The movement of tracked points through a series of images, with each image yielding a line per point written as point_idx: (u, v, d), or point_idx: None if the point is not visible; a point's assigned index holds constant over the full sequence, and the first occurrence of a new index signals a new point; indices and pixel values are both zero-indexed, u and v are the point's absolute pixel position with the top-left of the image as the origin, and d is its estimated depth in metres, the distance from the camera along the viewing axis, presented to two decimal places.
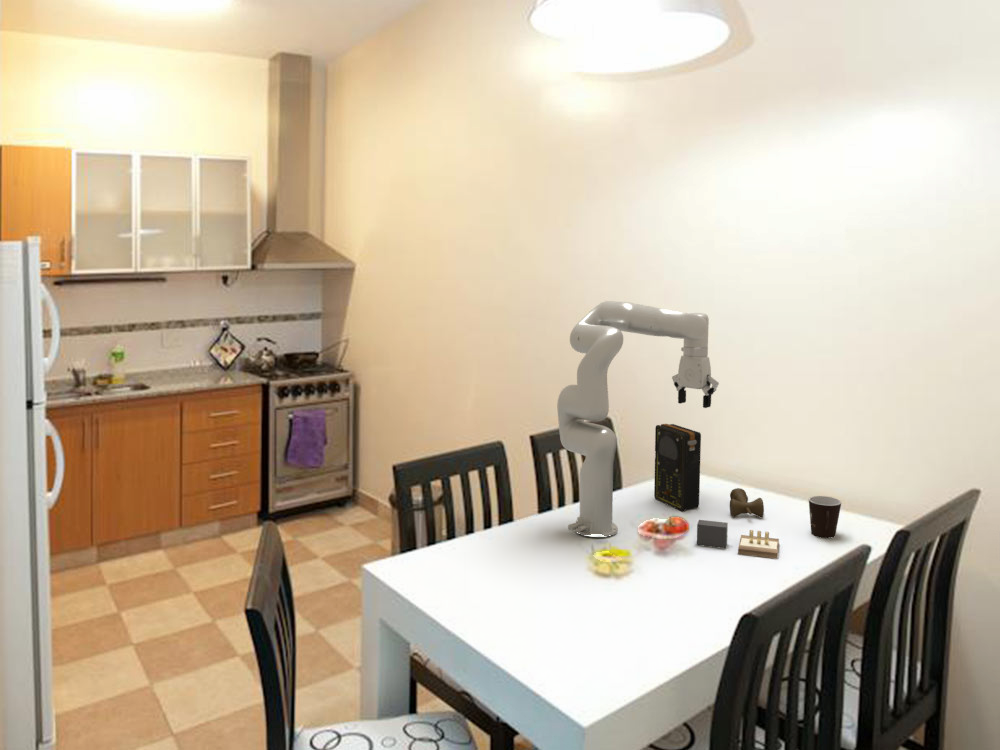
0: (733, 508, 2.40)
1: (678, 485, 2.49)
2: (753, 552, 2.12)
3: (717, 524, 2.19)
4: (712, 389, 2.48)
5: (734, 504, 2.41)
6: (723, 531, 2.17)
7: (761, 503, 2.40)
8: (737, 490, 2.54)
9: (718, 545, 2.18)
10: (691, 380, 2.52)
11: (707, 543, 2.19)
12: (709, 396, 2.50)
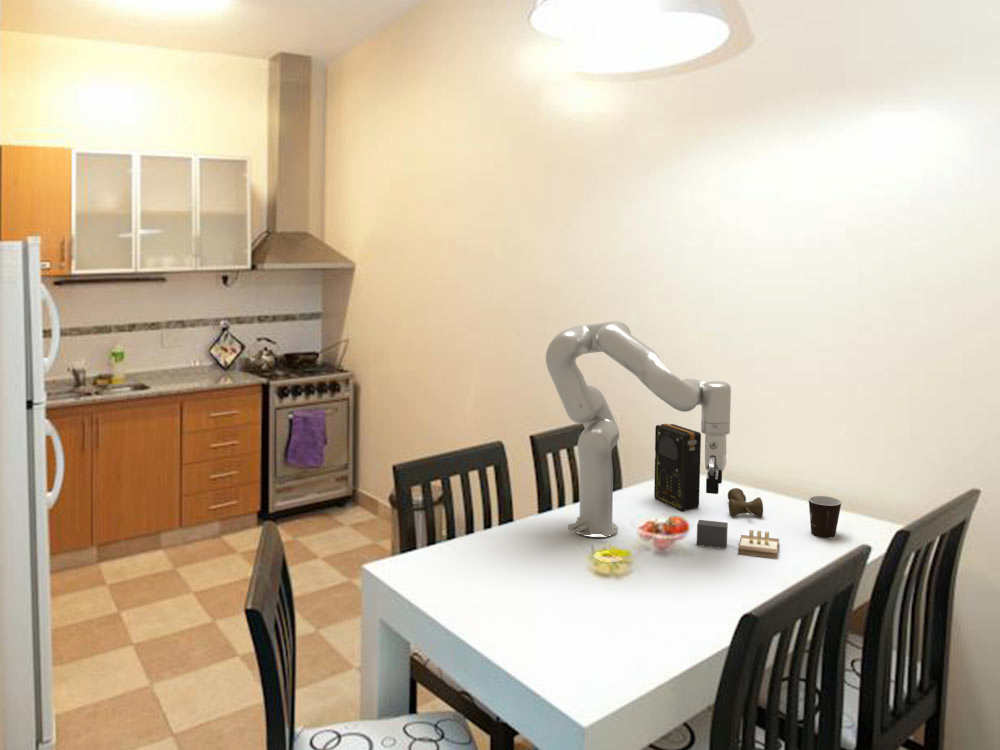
0: (733, 508, 2.40)
1: (678, 485, 2.49)
2: (753, 552, 2.12)
3: (717, 524, 2.19)
4: None
5: (733, 504, 2.41)
6: (723, 531, 2.17)
7: (760, 503, 2.40)
8: (735, 490, 2.54)
9: (718, 545, 2.18)
10: (725, 458, 2.17)
11: (707, 543, 2.19)
12: None
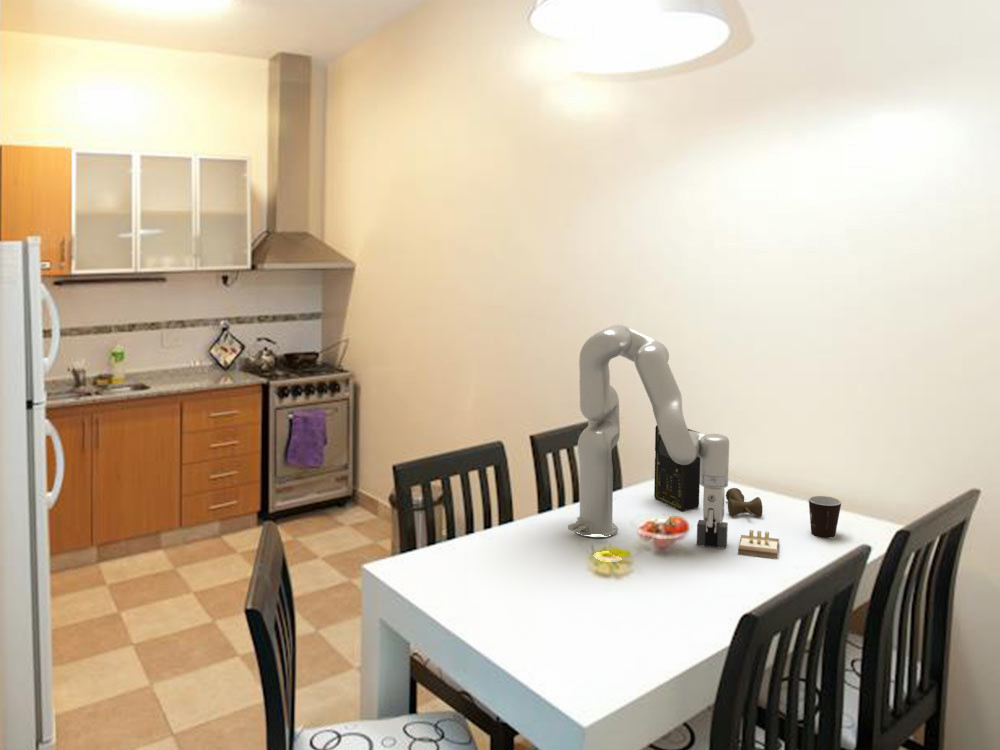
0: (732, 508, 2.41)
1: (678, 485, 2.49)
2: (753, 552, 2.12)
3: (717, 524, 2.19)
4: None
5: (733, 504, 2.41)
6: (723, 531, 2.17)
7: (760, 502, 2.40)
8: (733, 490, 2.55)
9: (718, 545, 2.18)
10: (723, 509, 2.19)
11: None
12: None
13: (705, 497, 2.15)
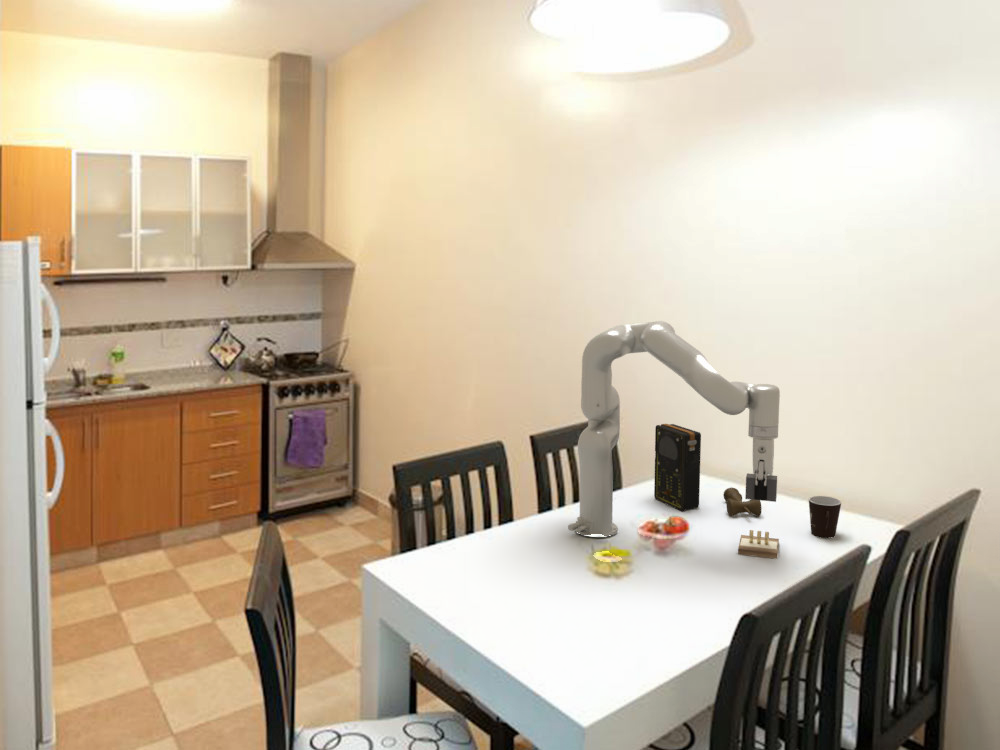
0: (731, 508, 2.41)
1: (678, 485, 2.49)
2: (753, 552, 2.12)
3: None
4: None
5: (732, 504, 2.41)
6: (773, 484, 2.11)
7: (759, 502, 2.41)
8: (731, 489, 2.55)
9: (768, 498, 2.12)
10: None
11: None
12: None
13: (755, 448, 2.08)
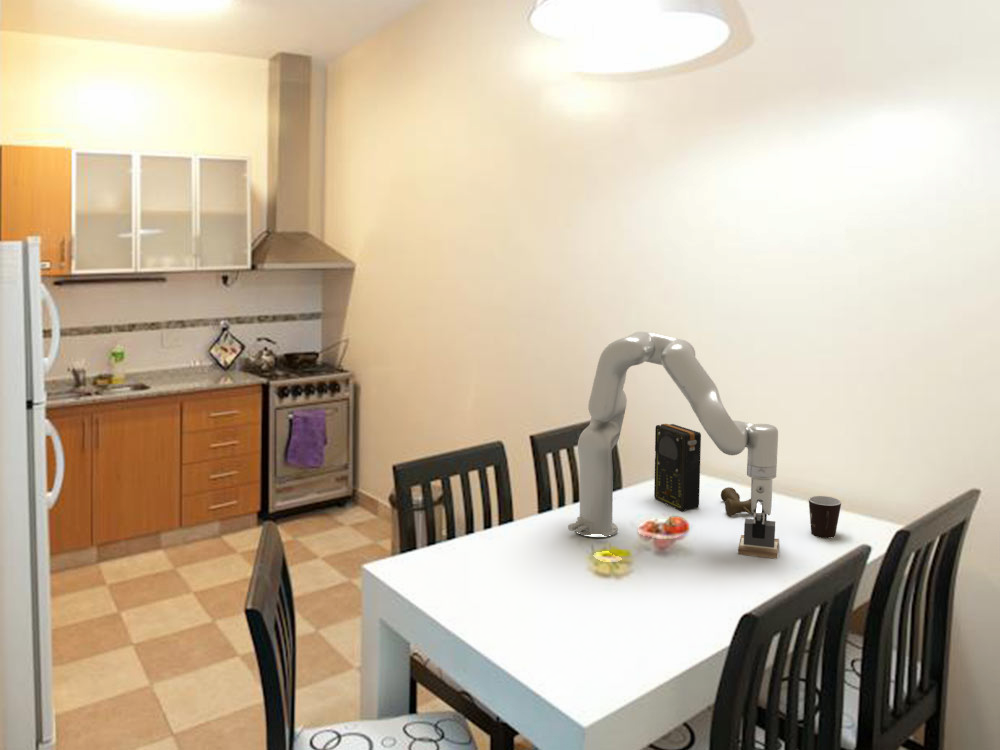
0: (731, 508, 2.41)
1: (678, 485, 2.49)
2: (753, 552, 2.12)
3: (765, 522, 2.15)
4: None
5: (732, 504, 2.41)
6: (771, 530, 2.13)
7: None
8: (728, 489, 2.55)
9: (766, 544, 2.14)
10: (771, 501, 2.14)
11: (755, 542, 2.15)
12: None
13: (753, 488, 2.10)
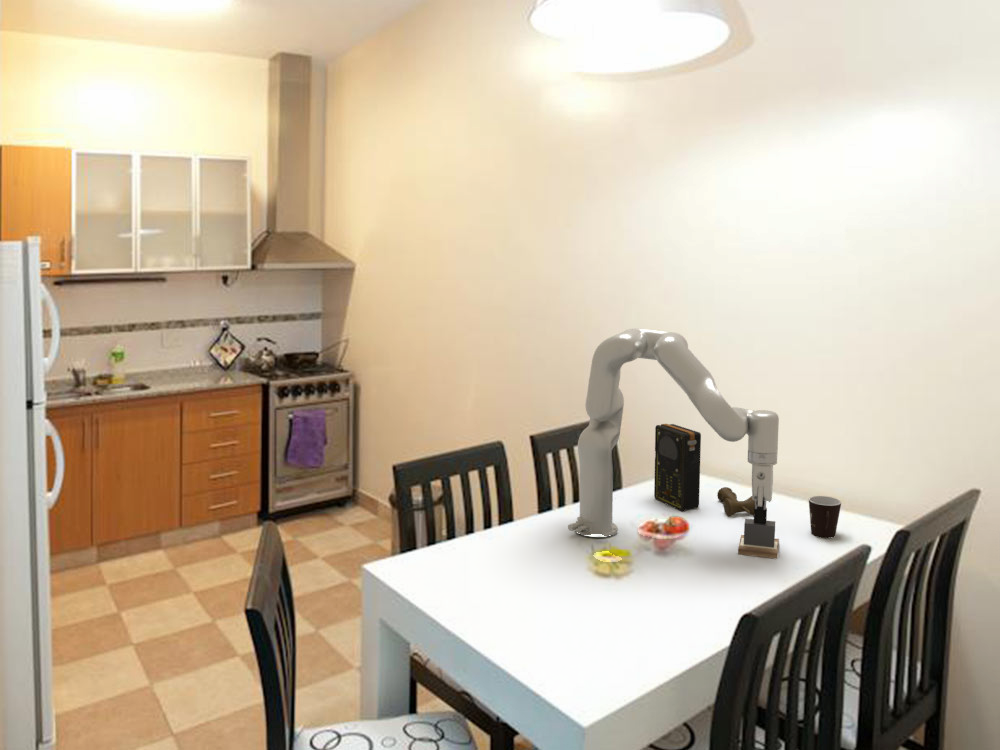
0: (730, 508, 2.41)
1: (678, 485, 2.49)
2: (753, 552, 2.12)
3: None
4: None
5: (731, 504, 2.41)
6: (771, 530, 2.13)
7: None
8: (724, 489, 2.55)
9: (766, 544, 2.14)
10: (772, 488, 2.14)
11: (755, 542, 2.15)
12: None
13: (754, 475, 2.10)
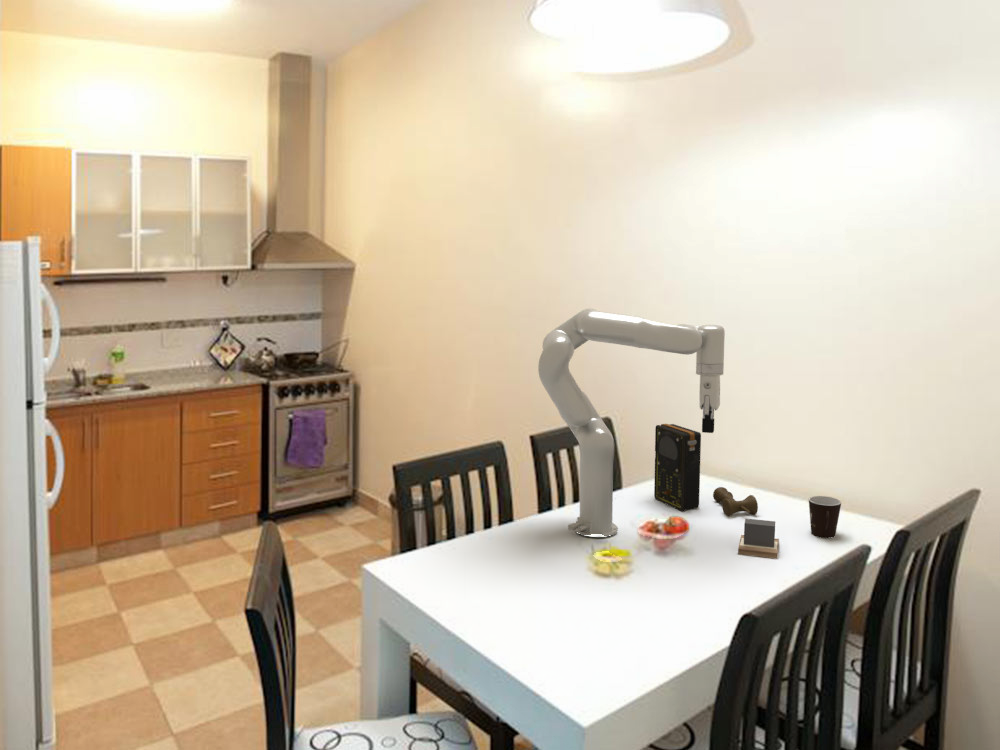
0: (730, 508, 2.41)
1: (678, 485, 2.49)
2: (753, 552, 2.12)
3: (765, 522, 2.15)
4: None
5: (730, 504, 2.41)
6: (771, 530, 2.13)
7: (755, 500, 2.42)
8: (720, 489, 2.56)
9: (766, 544, 2.14)
10: (719, 398, 2.26)
11: (755, 542, 2.15)
12: None
13: (701, 384, 2.22)
